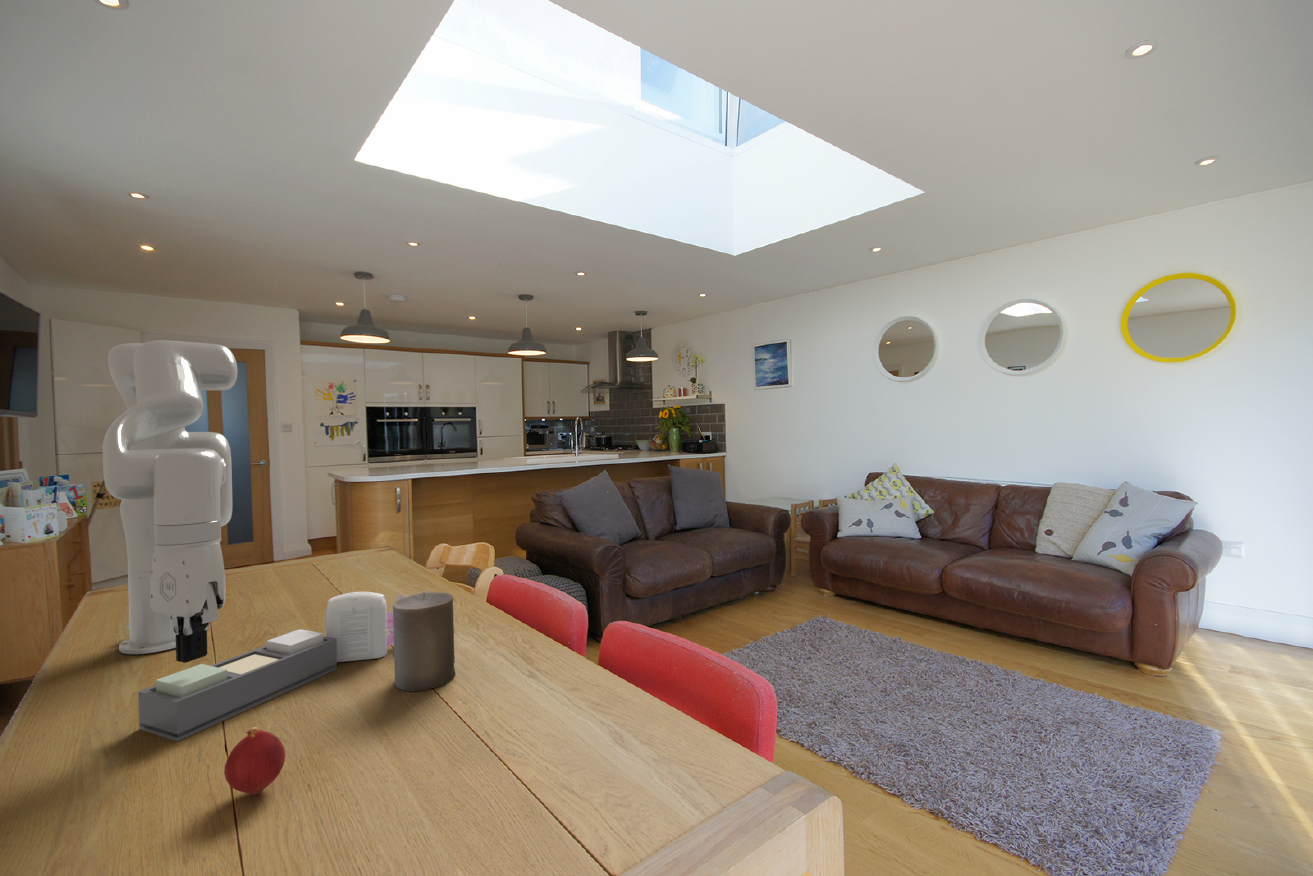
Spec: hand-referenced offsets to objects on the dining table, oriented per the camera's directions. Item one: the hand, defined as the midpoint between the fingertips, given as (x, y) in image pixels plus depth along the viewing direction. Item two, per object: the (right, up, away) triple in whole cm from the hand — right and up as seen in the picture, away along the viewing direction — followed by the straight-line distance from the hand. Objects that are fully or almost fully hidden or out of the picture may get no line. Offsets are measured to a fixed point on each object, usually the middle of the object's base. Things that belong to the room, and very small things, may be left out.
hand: (192, 658), depth 83 cm
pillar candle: (+29, -9, +14) cm, 33 cm away
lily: (+18, -9, +30) cm, 36 cm away
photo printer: (+12, -9, +23) cm, 28 cm away
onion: (+21, -10, -16) cm, 28 cm away
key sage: (0, -7, +1) cm, 7 cm away
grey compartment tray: (+3, -9, +8) cm, 12 cm away
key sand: (+3, -8, +8) cm, 12 cm away
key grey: (+6, -6, +15) cm, 17 cm away
